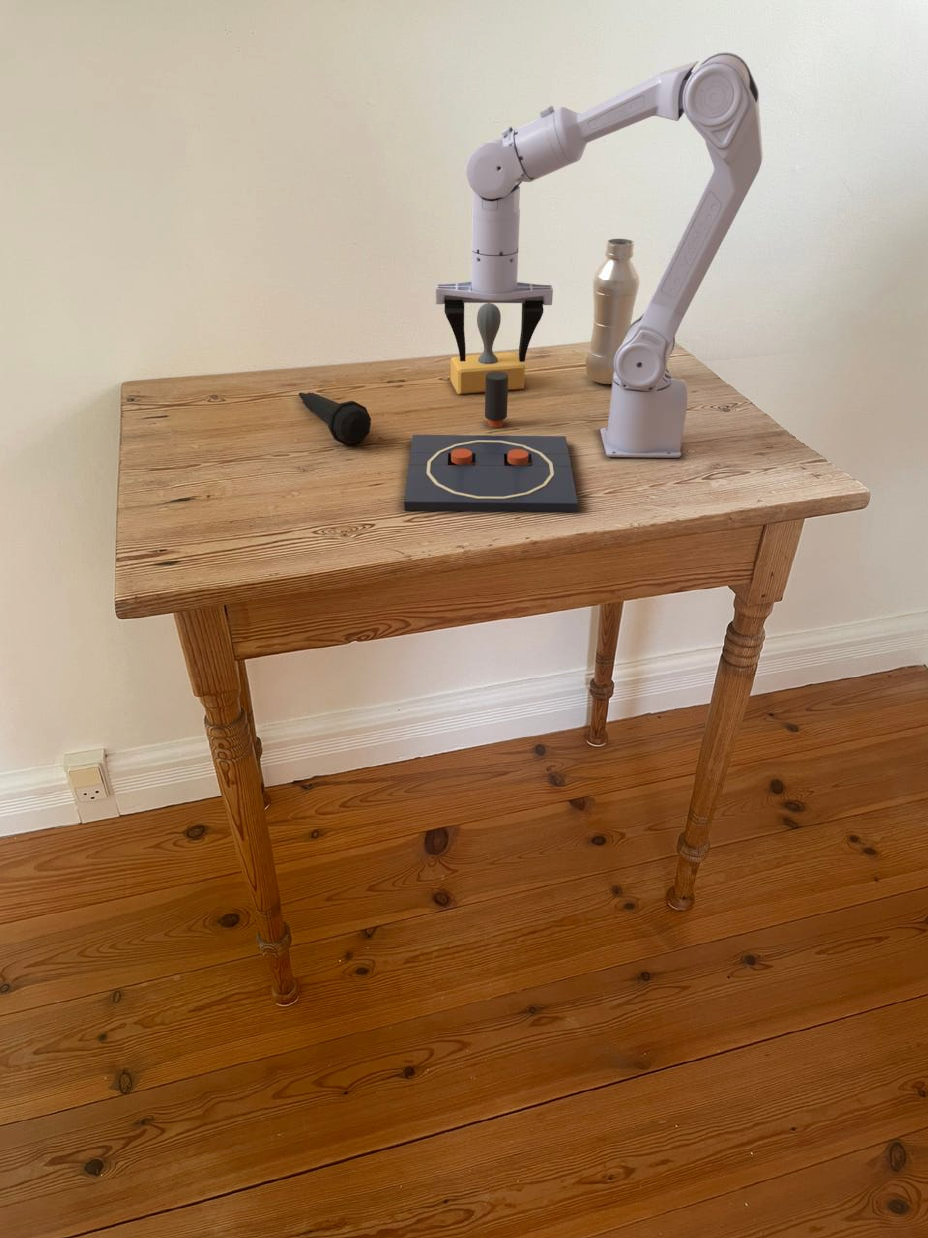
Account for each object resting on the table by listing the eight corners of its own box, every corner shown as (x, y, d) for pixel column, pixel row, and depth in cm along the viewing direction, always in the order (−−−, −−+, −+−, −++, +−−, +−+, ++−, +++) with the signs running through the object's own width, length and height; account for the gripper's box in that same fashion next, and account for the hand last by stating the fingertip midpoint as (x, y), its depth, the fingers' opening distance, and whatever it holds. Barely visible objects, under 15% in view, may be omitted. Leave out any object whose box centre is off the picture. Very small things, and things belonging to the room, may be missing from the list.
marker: (506, 420, 127) (507, 371, 123) (506, 429, 125) (508, 379, 120) (484, 419, 127) (485, 370, 123) (484, 429, 125) (485, 379, 120)
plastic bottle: (631, 389, 136) (648, 248, 124) (585, 389, 136) (598, 247, 124) (626, 373, 141) (642, 235, 129) (582, 372, 141) (593, 235, 130)
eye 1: (472, 455, 116) (472, 448, 115) (472, 465, 114) (472, 457, 113) (451, 455, 116) (451, 448, 115) (451, 464, 114) (451, 457, 113)
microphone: (293, 421, 133) (350, 458, 118) (275, 385, 130) (331, 419, 115) (324, 402, 135) (385, 437, 120) (308, 367, 131) (368, 398, 116)
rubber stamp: (514, 375, 140) (517, 295, 133) (524, 389, 136) (528, 307, 129) (450, 380, 138) (450, 299, 131) (458, 395, 134) (458, 312, 127)
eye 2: (527, 456, 116) (528, 448, 115) (528, 465, 114) (529, 458, 113) (507, 456, 116) (507, 448, 115) (507, 465, 114) (508, 458, 113)
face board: (564, 444, 121) (565, 435, 120) (577, 512, 106) (578, 502, 106) (412, 442, 121) (412, 433, 120) (404, 510, 106) (404, 500, 106)
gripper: (552, 241, 115) (545, 348, 123) (436, 240, 115) (437, 347, 123) (556, 257, 109) (549, 367, 117) (434, 256, 109) (435, 366, 117)
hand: (492, 358), depth 120 cm, fingers open, 7 cm apart
